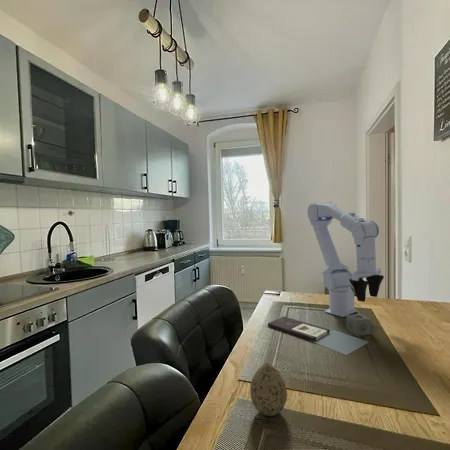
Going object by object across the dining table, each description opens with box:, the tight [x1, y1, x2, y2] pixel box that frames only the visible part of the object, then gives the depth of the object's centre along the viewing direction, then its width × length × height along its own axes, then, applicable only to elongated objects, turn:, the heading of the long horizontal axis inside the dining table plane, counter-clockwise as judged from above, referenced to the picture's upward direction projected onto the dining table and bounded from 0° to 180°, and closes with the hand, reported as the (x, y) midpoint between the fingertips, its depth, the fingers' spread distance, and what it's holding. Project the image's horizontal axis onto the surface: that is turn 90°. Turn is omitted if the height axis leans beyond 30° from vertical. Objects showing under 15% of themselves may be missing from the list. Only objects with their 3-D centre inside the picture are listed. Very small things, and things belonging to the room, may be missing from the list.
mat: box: [309, 329, 370, 356], centre depth 87 cm, size 12×12×1 cm
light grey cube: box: [345, 313, 372, 337], centre depth 93 cm, size 5×5×5 cm
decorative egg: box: [249, 362, 288, 417], centre depth 58 cm, size 7×7×10 cm
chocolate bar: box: [267, 316, 330, 342], centre depth 97 cm, size 9×1×18 cm
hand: (367, 298), depth 97 cm, fingers open, 7 cm apart
